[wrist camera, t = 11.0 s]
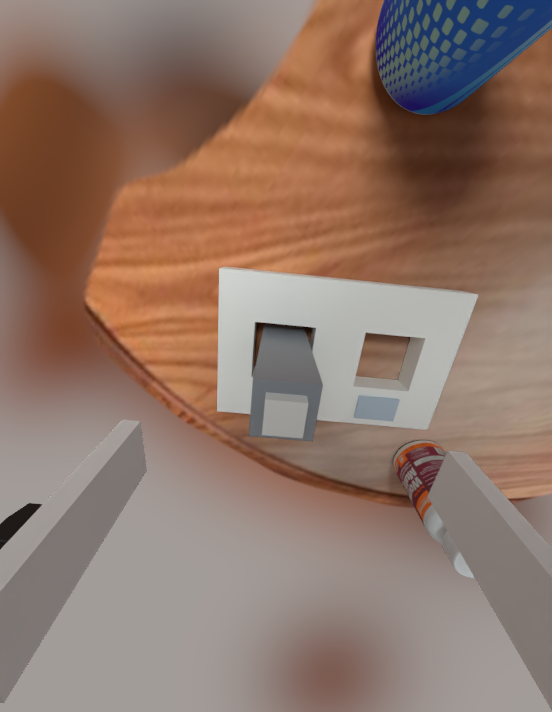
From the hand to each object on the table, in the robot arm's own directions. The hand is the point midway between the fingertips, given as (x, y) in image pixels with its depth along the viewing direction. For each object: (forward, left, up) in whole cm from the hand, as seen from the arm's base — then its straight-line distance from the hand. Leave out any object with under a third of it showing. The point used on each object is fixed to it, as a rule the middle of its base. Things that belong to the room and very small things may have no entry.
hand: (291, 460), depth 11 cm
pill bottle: (+13, +18, -17) cm, 28 cm away
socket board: (0, +5, -16) cm, 17 cm away
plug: (0, 0, -16) cm, 16 cm away
